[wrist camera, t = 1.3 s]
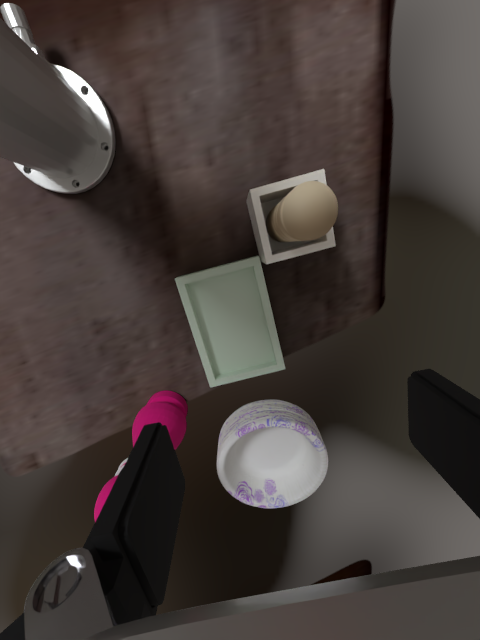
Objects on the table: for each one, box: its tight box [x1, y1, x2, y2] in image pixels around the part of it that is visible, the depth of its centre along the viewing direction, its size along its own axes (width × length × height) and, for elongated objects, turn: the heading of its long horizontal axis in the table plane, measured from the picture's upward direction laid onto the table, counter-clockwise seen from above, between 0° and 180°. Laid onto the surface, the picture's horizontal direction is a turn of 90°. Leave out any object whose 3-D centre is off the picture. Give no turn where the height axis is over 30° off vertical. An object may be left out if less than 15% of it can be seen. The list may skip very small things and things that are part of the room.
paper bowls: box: [217, 400, 328, 508], centre depth 39 cm, size 15×15×8 cm
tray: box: [175, 255, 285, 388], centre depth 36 cm, size 16×11×2 cm
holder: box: [246, 169, 336, 264], centre depth 30 cm, size 8×8×7 cm
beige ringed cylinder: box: [266, 181, 338, 242], centre depth 27 cm, size 4×4×12 cm
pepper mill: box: [94, 391, 188, 522], centre depth 31 cm, size 7×7×20 cm
